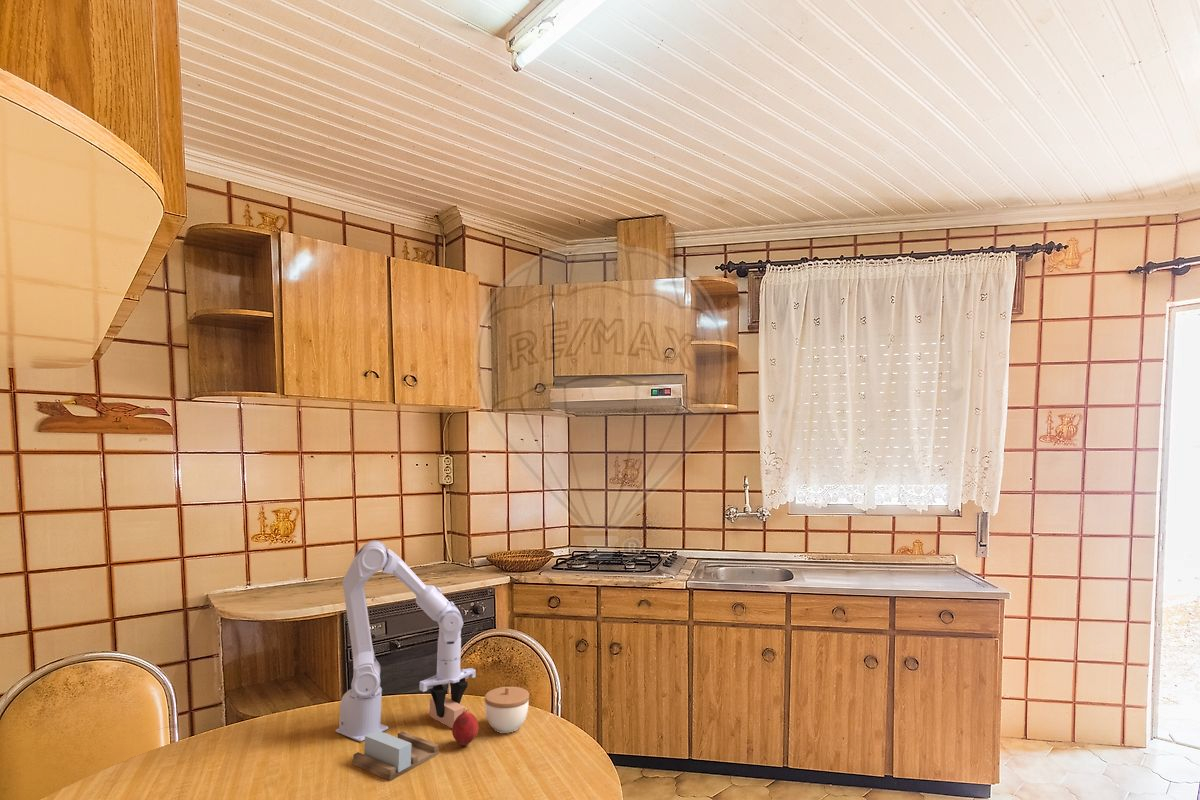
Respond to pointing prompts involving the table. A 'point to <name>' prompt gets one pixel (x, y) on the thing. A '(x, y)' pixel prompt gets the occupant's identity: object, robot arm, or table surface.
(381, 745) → the grey-blue block
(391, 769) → the walnut rack
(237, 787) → the table surface
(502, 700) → the lidded jar
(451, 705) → the salmon pink block
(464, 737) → the onion
